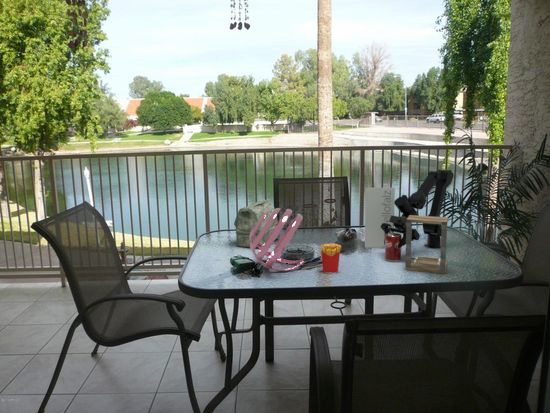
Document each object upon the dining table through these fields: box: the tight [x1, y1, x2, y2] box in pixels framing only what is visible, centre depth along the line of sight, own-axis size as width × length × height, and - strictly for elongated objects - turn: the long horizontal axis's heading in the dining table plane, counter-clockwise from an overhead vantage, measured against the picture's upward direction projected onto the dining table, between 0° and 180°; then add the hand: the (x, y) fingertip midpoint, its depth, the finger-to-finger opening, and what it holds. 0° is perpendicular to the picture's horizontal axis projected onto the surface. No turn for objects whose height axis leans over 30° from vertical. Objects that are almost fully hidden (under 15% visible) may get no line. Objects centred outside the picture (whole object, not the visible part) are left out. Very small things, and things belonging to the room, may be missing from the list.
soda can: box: [384, 232, 403, 263], centre depth 208 cm, size 7×7×12 cm
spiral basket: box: [249, 207, 305, 273], centre depth 201 cm, size 28×28×27 cm
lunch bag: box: [233, 199, 280, 249], centre depth 245 cm, size 26×18×22 cm
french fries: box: [320, 243, 342, 274], centre depth 195 cm, size 8×4×12 cm, turn 85°
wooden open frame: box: [404, 215, 449, 275], centre depth 196 cm, size 16×16×22 cm
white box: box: [364, 187, 396, 249], centre depth 229 cm, size 14×6×30 cm, turn 76°
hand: (391, 246), depth 207 cm, fingers closed on soda can, 7 cm apart
